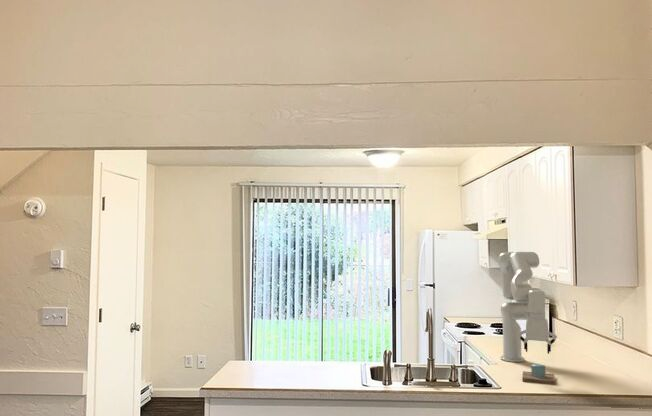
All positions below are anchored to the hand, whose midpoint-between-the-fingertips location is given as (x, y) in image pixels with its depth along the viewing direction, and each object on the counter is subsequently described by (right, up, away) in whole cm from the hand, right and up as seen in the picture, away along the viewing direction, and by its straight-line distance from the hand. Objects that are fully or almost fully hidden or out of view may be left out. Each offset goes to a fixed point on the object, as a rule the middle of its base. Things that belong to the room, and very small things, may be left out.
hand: (537, 352), depth 243 cm
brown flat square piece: (0, -13, -2) cm, 13 cm away
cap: (0, -11, -1) cm, 11 cm away
